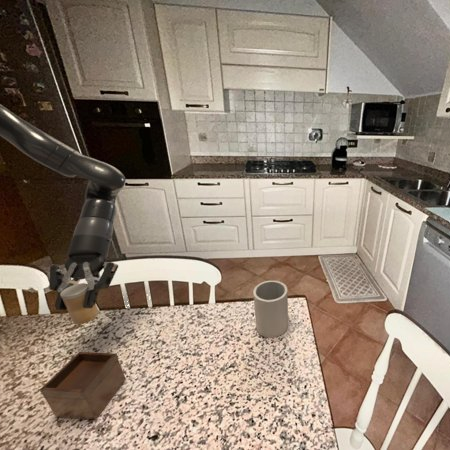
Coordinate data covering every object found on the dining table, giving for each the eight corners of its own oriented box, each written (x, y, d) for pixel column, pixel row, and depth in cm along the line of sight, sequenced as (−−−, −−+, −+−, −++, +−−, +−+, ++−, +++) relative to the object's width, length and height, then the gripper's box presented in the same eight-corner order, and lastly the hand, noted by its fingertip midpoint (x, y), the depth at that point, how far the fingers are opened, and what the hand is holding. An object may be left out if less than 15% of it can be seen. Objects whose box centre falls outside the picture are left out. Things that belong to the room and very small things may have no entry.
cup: (250, 322, 71) (247, 288, 66) (276, 309, 76) (275, 276, 71) (267, 343, 64) (264, 306, 59) (294, 326, 69) (294, 292, 65)
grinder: (67, 324, 56) (53, 296, 53) (85, 309, 61) (74, 282, 58) (87, 325, 56) (74, 296, 53) (104, 310, 60) (93, 283, 57)
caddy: (55, 417, 48) (39, 389, 45) (91, 377, 55) (79, 351, 52) (95, 419, 47) (82, 392, 44) (126, 379, 55) (116, 353, 52)
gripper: (48, 234, 57) (23, 310, 51) (114, 231, 59) (97, 305, 52) (73, 244, 64) (53, 312, 58) (131, 241, 66) (118, 307, 59)
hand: (74, 308), depth 55 cm, fingers closed on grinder, 5 cm apart
